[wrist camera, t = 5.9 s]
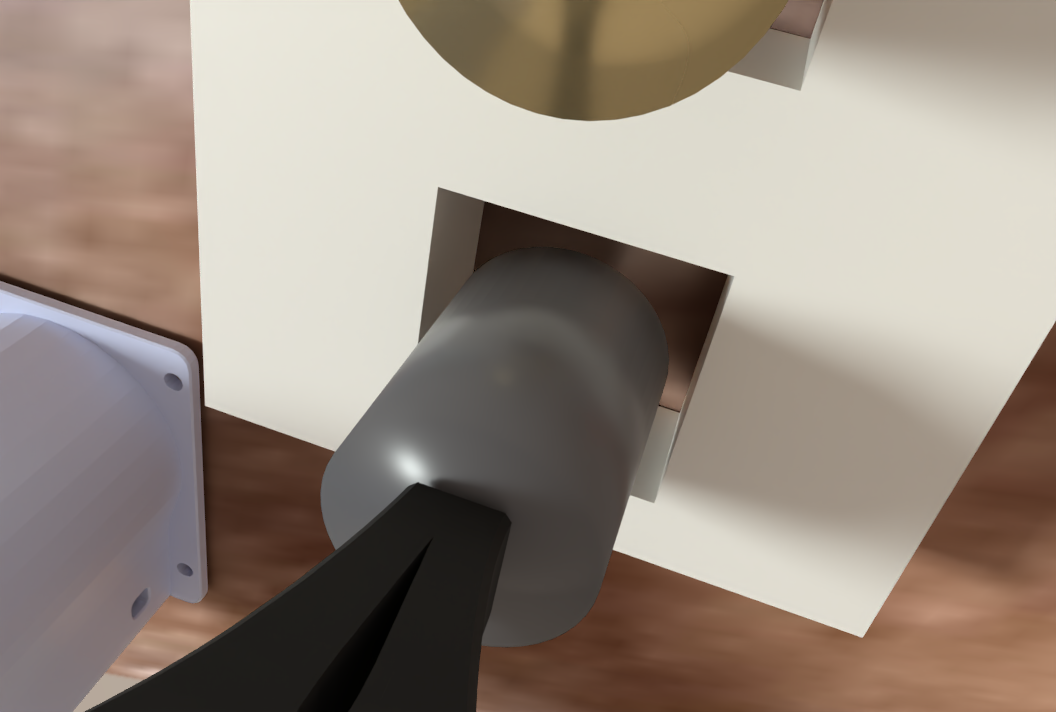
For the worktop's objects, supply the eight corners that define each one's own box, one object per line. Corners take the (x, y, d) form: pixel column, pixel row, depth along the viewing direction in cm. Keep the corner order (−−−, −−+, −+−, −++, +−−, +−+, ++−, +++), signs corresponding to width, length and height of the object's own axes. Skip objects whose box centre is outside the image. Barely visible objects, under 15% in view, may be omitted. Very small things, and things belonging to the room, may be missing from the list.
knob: (637, 468, 17) (568, 684, 13) (438, 401, 18) (314, 587, 14) (696, 288, 15) (635, 481, 11) (466, 217, 15) (327, 376, 11)
